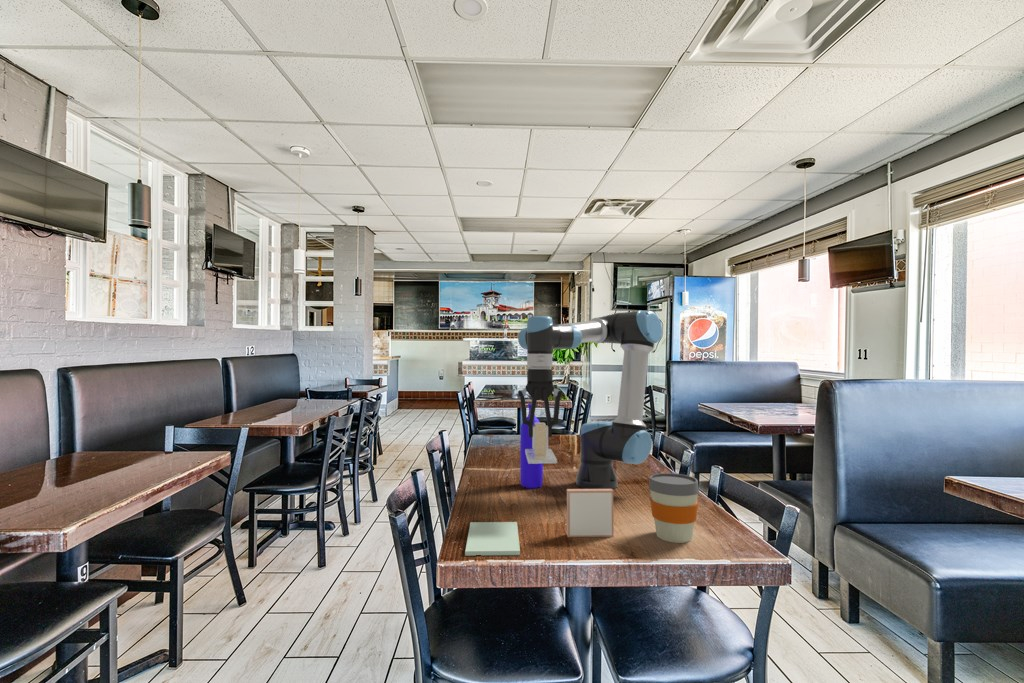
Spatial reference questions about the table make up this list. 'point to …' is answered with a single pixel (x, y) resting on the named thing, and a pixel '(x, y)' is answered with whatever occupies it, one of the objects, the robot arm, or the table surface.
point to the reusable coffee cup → (674, 506)
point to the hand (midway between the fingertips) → (540, 448)
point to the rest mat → (492, 539)
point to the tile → (590, 513)
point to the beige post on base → (540, 448)
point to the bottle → (529, 472)
